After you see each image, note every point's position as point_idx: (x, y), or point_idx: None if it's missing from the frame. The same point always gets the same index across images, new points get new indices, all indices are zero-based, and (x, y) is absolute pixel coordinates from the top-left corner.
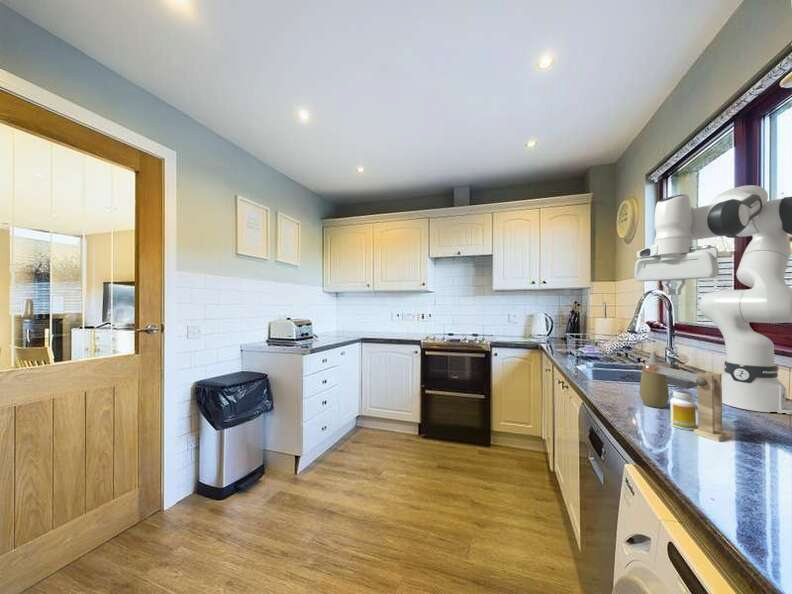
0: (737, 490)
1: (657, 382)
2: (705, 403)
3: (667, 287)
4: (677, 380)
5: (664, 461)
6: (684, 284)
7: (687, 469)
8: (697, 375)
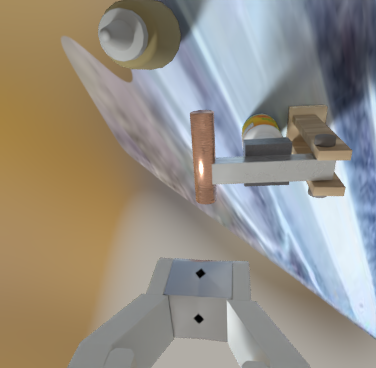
0: (372, 276)
1: (162, 58)
2: None
3: (159, 354)
4: (267, 183)
5: (304, 270)
6: (296, 352)
7: (326, 270)
8: (312, 193)
